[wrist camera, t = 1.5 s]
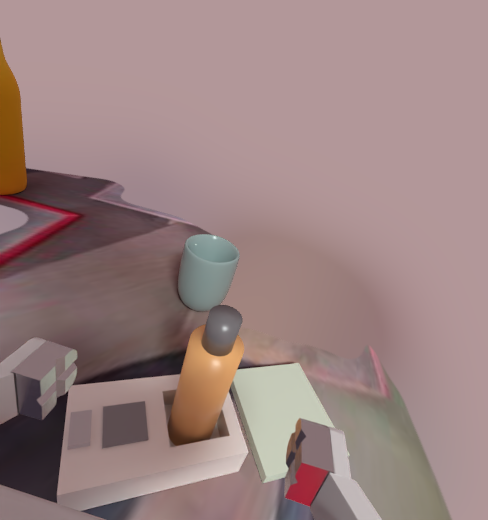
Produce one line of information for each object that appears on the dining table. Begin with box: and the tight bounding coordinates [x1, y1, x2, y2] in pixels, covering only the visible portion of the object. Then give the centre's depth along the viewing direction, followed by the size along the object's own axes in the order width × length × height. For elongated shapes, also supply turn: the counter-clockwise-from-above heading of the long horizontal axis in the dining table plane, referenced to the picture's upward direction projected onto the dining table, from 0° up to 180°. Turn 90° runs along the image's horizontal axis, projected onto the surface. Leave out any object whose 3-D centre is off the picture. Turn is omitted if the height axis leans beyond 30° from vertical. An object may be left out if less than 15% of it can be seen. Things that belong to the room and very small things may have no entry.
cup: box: [178, 234, 239, 312], centre depth 47 cm, size 8×8×10 cm
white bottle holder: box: [57, 374, 248, 511], centre depth 30 cm, size 15×9×4 cm, turn 109°
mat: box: [231, 363, 349, 483], centre depth 37 cm, size 12×10×1 cm
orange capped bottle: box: [167, 305, 244, 446], centre depth 28 cm, size 4×4×15 cm
